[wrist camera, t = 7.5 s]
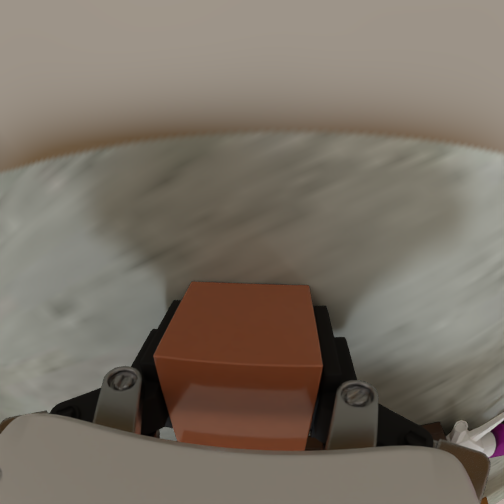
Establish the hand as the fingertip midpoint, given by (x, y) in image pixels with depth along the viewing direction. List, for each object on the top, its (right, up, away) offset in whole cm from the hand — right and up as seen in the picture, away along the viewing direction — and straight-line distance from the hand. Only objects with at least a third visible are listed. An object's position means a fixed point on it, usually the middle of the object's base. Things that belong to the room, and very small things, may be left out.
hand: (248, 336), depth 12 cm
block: (0, 0, 0) cm, 0 cm away
